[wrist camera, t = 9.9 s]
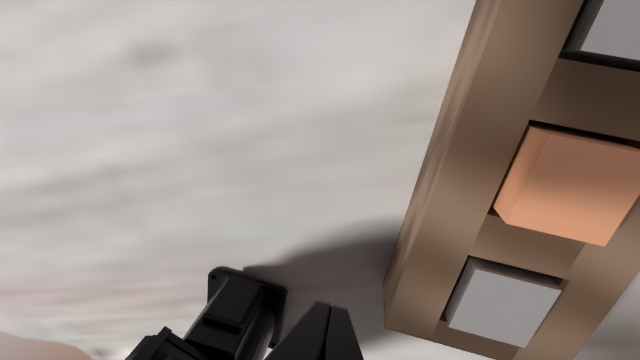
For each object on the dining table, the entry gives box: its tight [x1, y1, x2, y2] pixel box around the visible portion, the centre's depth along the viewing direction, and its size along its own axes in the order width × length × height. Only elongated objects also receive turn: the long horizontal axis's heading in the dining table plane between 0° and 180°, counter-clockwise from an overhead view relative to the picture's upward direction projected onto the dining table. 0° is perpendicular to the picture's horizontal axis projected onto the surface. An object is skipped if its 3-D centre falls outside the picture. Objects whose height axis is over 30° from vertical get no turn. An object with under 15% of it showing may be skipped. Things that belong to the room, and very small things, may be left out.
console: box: [383, 0, 640, 360], centre depth 15 cm, size 22×10×4 cm, turn 170°
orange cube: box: [491, 122, 640, 247], centre depth 14 cm, size 4×4×4 cm
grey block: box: [558, 0, 640, 70], centre depth 11 cm, size 4×4×4 cm
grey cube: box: [444, 255, 561, 348], centre depth 17 cm, size 4×4×4 cm
